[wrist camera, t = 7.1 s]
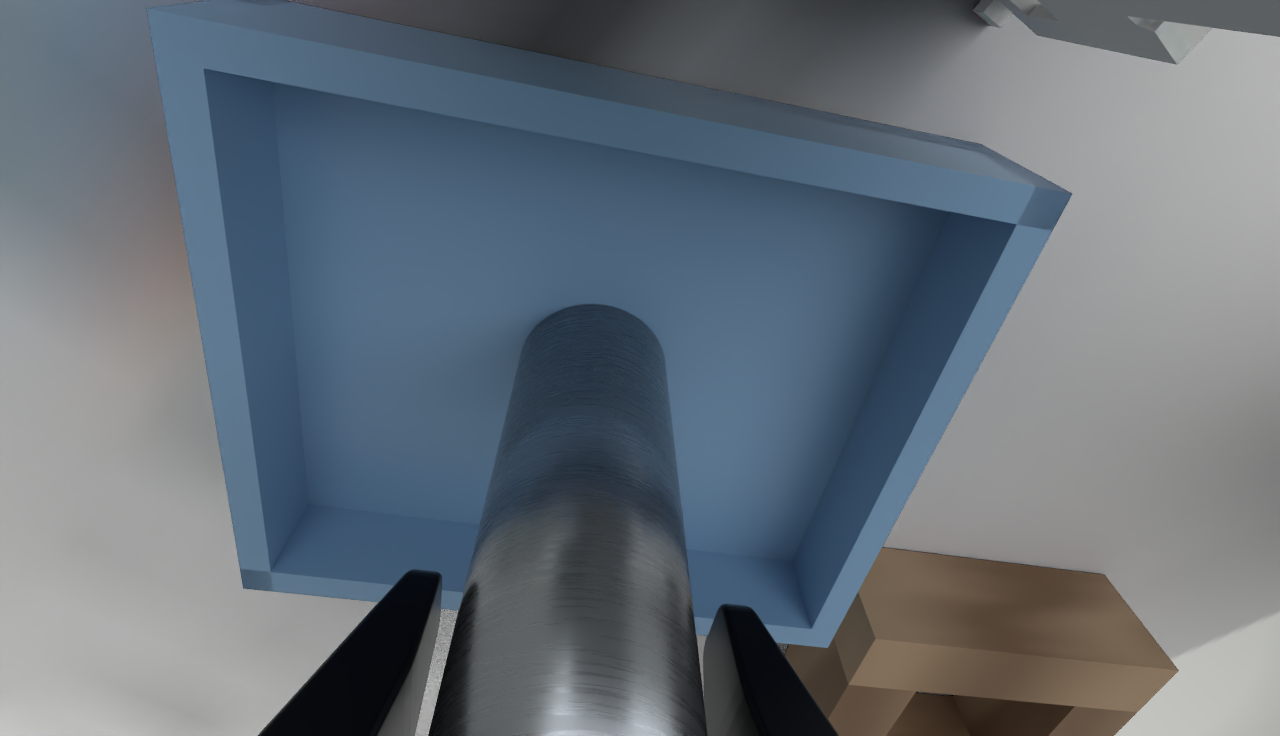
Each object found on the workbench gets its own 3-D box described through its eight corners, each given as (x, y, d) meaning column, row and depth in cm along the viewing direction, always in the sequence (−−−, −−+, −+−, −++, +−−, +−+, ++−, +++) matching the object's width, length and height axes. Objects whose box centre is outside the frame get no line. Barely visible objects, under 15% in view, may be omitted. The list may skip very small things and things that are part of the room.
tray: (981, 144, 13) (1072, 193, 10) (798, 550, 18) (827, 648, 16) (254, -6, 11) (146, 8, 9) (300, 491, 17) (243, 588, 14)
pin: (710, 298, 13) (922, 1103, 4) (667, 456, 15) (740, 1226, 6) (504, 263, 13) (204, 1090, 3) (487, 431, 15) (271, 1231, 6)
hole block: (1104, 574, 19) (1179, 670, 17) (978, 731, 23) (1022, 827, 21) (839, 542, 18) (875, 638, 16) (756, 711, 22) (774, 809, 20)
